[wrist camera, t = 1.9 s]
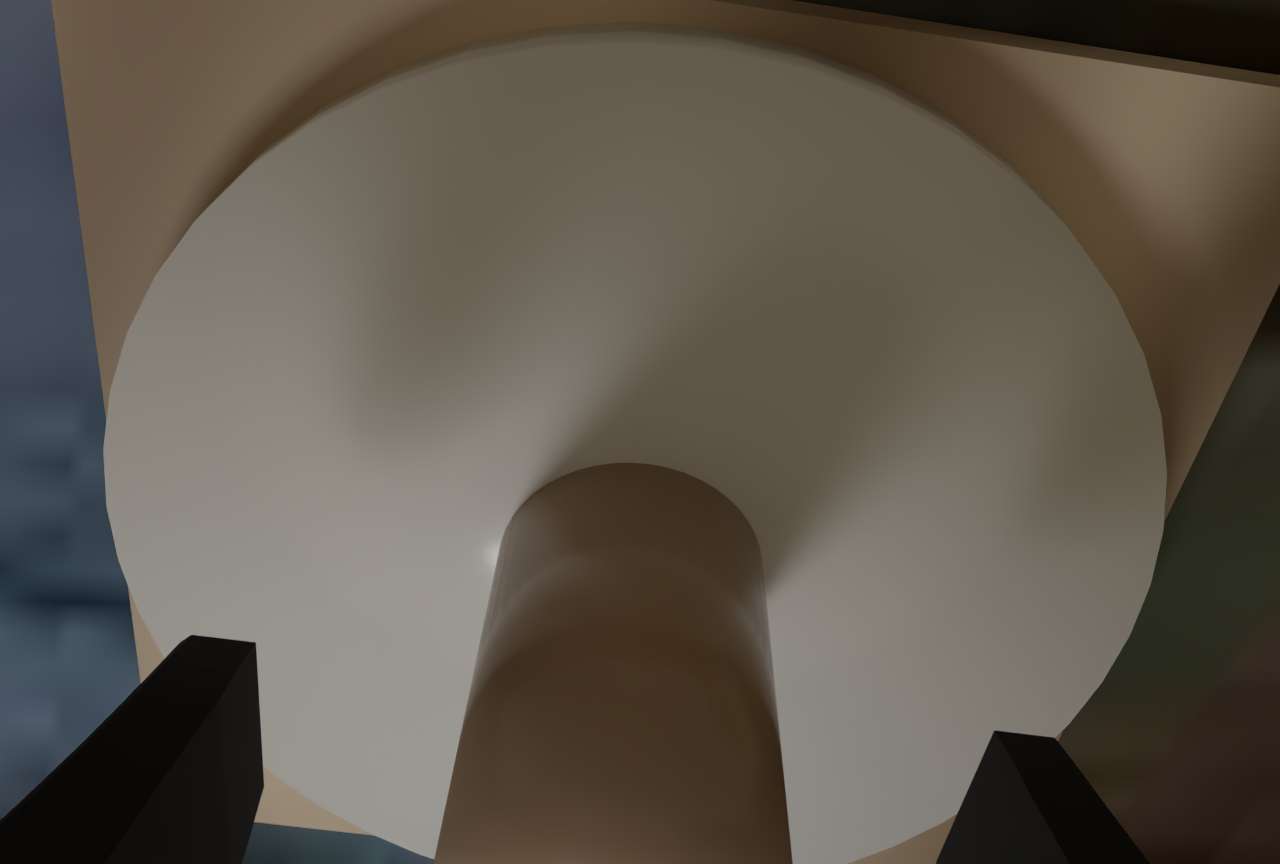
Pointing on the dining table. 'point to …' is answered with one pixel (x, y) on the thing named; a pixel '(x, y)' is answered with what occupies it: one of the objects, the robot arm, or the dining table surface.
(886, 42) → the mat
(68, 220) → the dining table surface
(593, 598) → the lid
